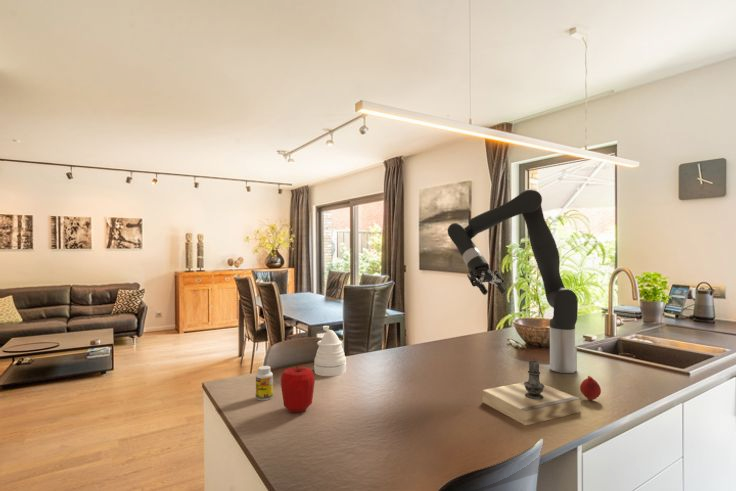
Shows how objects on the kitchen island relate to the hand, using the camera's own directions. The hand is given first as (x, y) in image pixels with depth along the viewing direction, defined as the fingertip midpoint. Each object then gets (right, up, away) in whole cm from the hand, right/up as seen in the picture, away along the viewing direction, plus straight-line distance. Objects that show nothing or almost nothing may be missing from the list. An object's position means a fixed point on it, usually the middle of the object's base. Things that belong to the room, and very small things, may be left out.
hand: (495, 292), depth 149 cm
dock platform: (+3, -33, -26) cm, 42 cm away
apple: (-70, -33, -27) cm, 82 cm away
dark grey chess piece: (+3, -29, -27) cm, 40 cm away
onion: (+24, -33, -21) cm, 46 cm away
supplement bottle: (-83, -33, -17) cm, 91 cm away
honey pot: (-63, -33, +11) cm, 72 cm away
